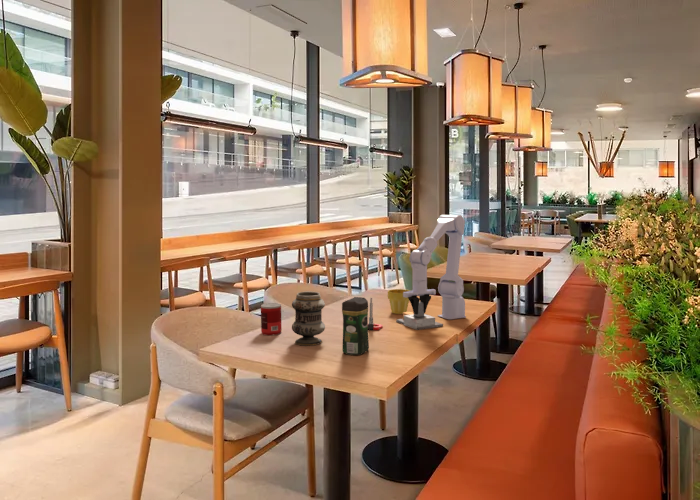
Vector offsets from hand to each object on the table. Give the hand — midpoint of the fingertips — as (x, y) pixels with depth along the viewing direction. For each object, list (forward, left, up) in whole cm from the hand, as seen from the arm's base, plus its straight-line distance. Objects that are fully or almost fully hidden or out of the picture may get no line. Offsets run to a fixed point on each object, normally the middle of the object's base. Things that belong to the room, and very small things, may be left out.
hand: (419, 313), depth 230 cm
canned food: (+56, -19, -5) cm, 59 cm away
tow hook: (+18, -7, -6) cm, 20 cm away
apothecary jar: (+49, +1, -5) cm, 49 cm away
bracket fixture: (-2, -3, -5) cm, 6 cm away
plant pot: (-7, -26, -5) cm, 27 cm away
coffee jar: (+40, +20, -5) cm, 45 cm away
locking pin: (0, 0, -3) cm, 4 cm away
